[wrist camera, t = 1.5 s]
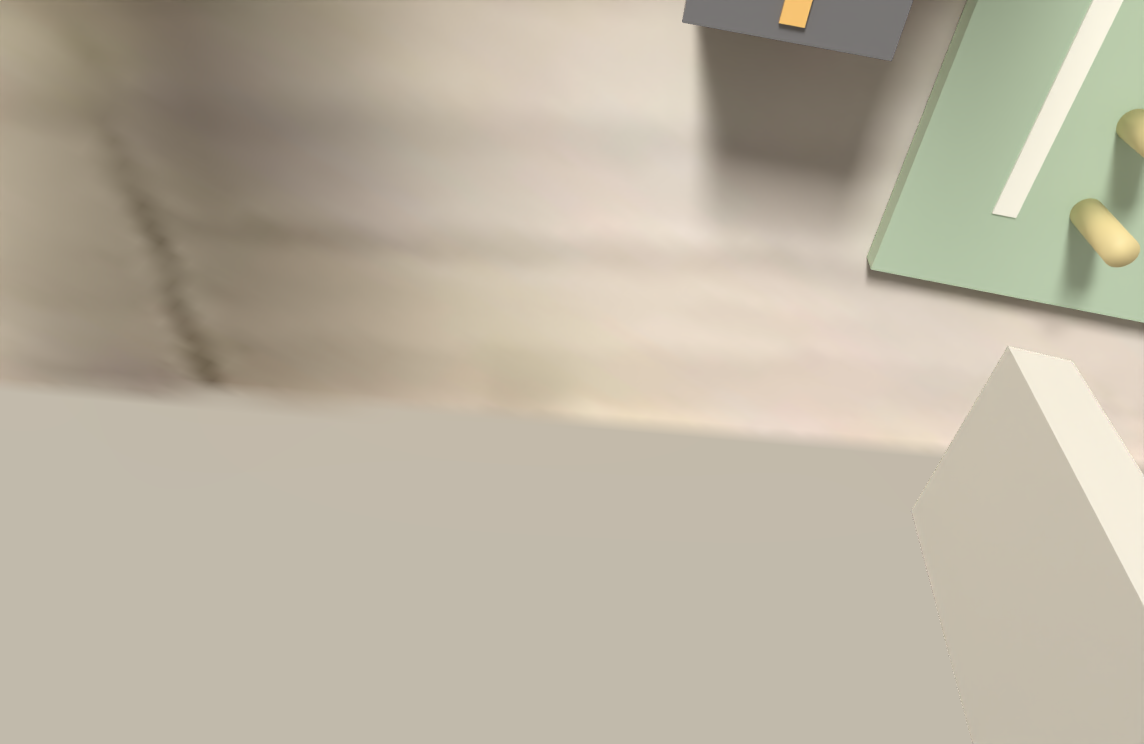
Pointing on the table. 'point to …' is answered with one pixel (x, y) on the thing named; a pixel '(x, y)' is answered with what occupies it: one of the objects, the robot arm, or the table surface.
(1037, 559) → the robot arm
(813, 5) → the plug housing
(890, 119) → the table surface
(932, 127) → the board
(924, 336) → the table surface
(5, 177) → the table surface
